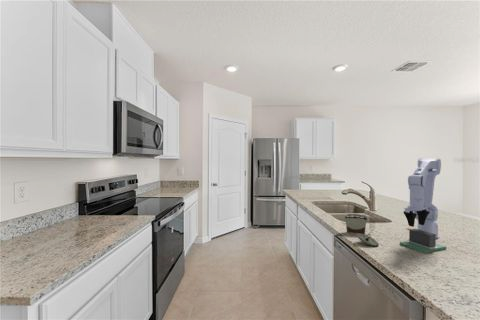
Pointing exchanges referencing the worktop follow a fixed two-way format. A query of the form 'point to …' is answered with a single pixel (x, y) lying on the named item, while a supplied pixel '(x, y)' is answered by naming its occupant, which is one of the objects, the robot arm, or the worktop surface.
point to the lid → (367, 239)
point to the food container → (355, 223)
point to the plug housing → (422, 237)
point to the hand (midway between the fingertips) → (416, 225)
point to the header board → (422, 247)
